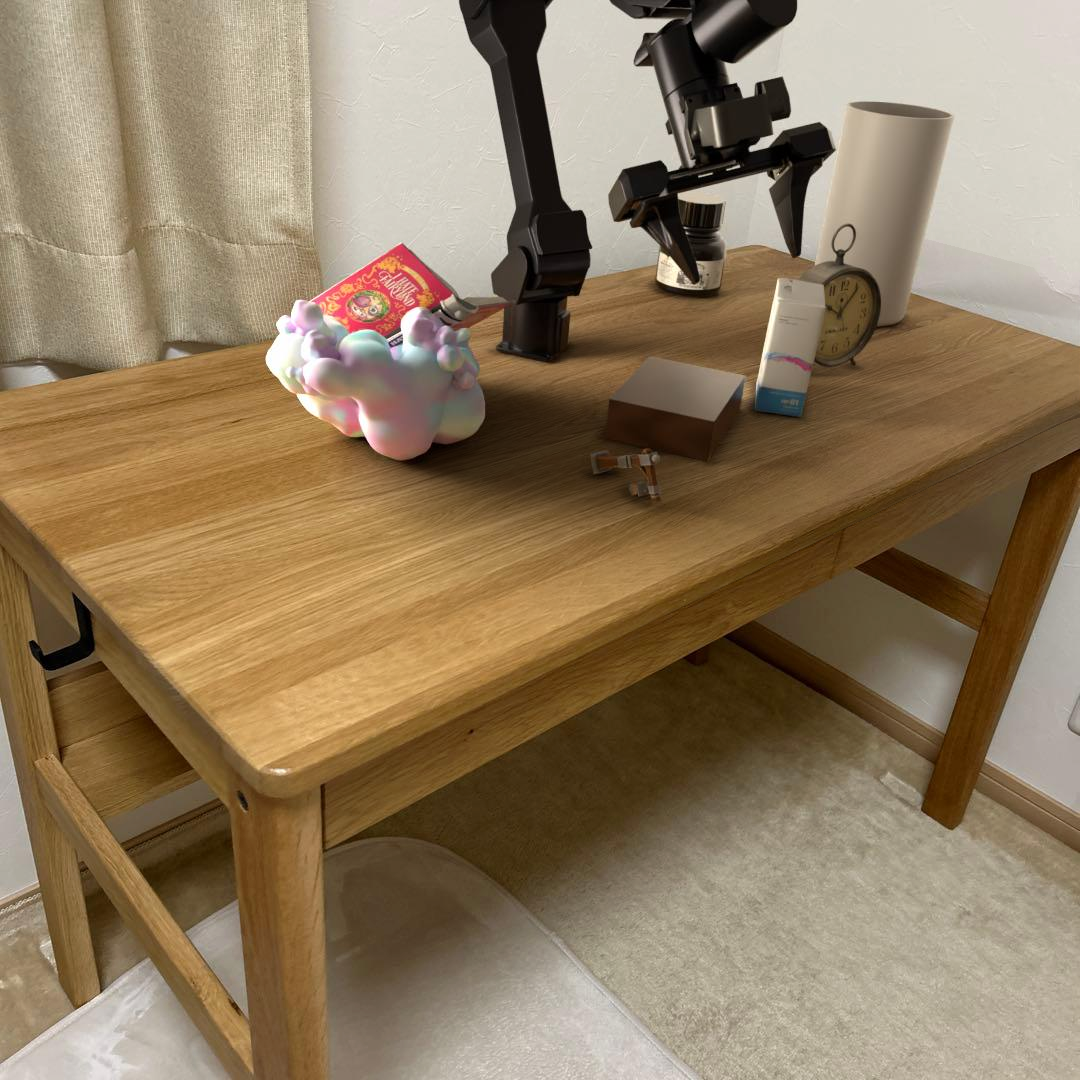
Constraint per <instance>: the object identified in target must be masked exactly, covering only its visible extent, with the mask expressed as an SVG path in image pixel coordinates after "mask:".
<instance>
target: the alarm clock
mask: <svg viewBox="0 0 1080 1080" xmlns="http://www.w3.org/2000/svg"><path fill="white" fill-rule="evenodd" d="M844 227H850V228H851V229H852V231H853V240H852V242H851V244H850V246H849V247H848V248H847V249H846V250H845V251H844V250H843V249H839V250H837V251H836V250H835V248H834V241H835V238H836V236H837V234H838V232H839V231H840V230H841V229H842V228H844ZM855 239H856V230H855V228H854V226H853V225H852V224H844V225H842V226H840V227H839V228H838V229H837V230H836V232H835V233H834V235H833V238H832V243H831V246H832V249H833V251H834V253H836V255H837V257H836V260H835V261H827V262H823V263H820V264H817V265H815V264H814V265H813V266H811V267H810V268H808V269H807V270H806V271H805V272H803V274H802V275H800V276H799V277H798V279H797V280H799V281H804V282H810V283H816V284H822V285H824V294H825V307H826V308H825V313H824V318H823V323H822V327H821V332H820V336H819V341H818V345H817V349H816V353H815V358H814V362H813V363H815V364H817V365H819V366H821V367H825V368H833V367H834V368H835V367H838V366H842V365H844V364H846V363H849V362H850V366H851V367H856V366H857V361H856V360H855V359H854V358H855V357H856V356H858V355H859V354H860V353H861V352H862V351H863V349H865V347H866V346H867V345H868V344H869V342H870V340H871V339H872V337H873V336H874V334H875V331H876V329H877V327H878V326H877V324H878V320H879V317H880V312H881V293H880V289H879V286H878V283H877V281H876V280H875V278H874V277H873V276H872V275H871V274H870V273H869V272H868V271H866V270H864V269H862V268H857V267H854V266H851V265H848V264H845V263H844V255H845V253H846V252H848V251H849V250H850V249H851V248H852V246H853V244H854V241H855Z"/></svg>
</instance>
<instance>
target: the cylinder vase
mask: <svg viewBox="0 0 1080 1080" xmlns="http://www.w3.org/2000/svg"><path fill="white" fill-rule="evenodd" d="M954 120H955V115H954V114H953V113H951V112H949V111H946V110H942V109H938V108H933V107H928V106H922V105H915V104H910V103H902V102H901V103H900V102H893V101H892V102H891V101H877V100H875V101H874V100H856V101H849V102H847V103H846V107H845V111H844V116H843V121H842V127H841V131H840V137H839V141H838V146H837V150H836V151H837V152H836V156H835V157H836V158H835V161H834V165H833V166H834V167H833V171H832V177H831V181H830V187H829V191H828V196H827V201H826V207H825V212H824V216H823V222H822V227H821V232H820V236H819V241H818V246H817V251H816V257H815V262H814V266H815V265H817V264H820V263H823V262H827V261H835V260H836V257H837V255H836V253H834V251H833V249H832V246H831V243H832V238H833V235H834V233H835V232H836V230H837V229H838V228H839V227H840V226H842V225H844V224H852V225H853V226H854V228H855V230H856V239H855V241H854V244H853V246H852V248H851V249H850V250H849V251H848V252H846V253H845V255H844V263H845V264H848V265H851V266H854V267H857V268H862V269H864V270H866V271H868V272H869V273H870V274H871V275H872V276H873V277H874V278H875V280H876V281H877V283H878V286H879V289H880V293H881V312H880V317H879V320H878V324H877V327H886V326H887V327H888V326H892V325H895V324H897V323H899V322H900V321H902V320H903V319H904V318H905V316H906V313H907V310H908V305H909V301H910V298H911V293H912V289H913V285H914V281H915V278H916V272H917V268H918V265H919V260H920V257H921V253H922V248H923V244H924V240H925V236H926V234H927V233H926V232H927V228H928V224H929V220H930V217H931V213H932V208H933V204H934V201H935V196H936V193H937V189H938V184H939V180H940V176H941V172H942V168H943V164H944V160H945V155H946V152H947V147H948V144H949V140H950V136H951V132H952V127H953V123H954ZM852 240H853V231H852V229H851V228H850V227H844V228H842V229H841V230H840V231H839V232H838V234H837V236H836V238H835V241H834V248H835V250H836V251H837V250H839V249H843V250H844V251H845V250H846V249H847V248H848V247H849V246H850V244H851V242H852Z"/></svg>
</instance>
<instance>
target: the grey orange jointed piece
mask: <svg viewBox="0 0 1080 1080" xmlns="http://www.w3.org/2000/svg"><path fill="white" fill-rule="evenodd" d="M641 453H642V454H638V453H635V454H630V455H629V454H628V455H627V454H624V455H621V456H616V455H610V453H609V450H606V449H605V450H601V451H598V452H594V453H590V454H589V456H590V463H591V468H592V473H593V475H597V474H602V473H605V472H609V471H612V468H616V467H618V469H622V468H626V469H630V468H631V469H632V468H635V467H638V468H639V469H640V471H641V472H642V474H643V476H644V477H645V478H646V479H647V481H643V482H638V481H637V482H634V483H632V484H629V488H628V489H629V492H630V496H635V495H638V497H641V496H645V495H646V496H647V495H650V499H651V503H659V502H661V501H662V497H661V496H662V495H661V487H660V483H659V482H658V476H657V472H656V471H657V470H656V466H655V465H657V464H660V461H661V456H660V455H659V454H658V451H655V452H652V449H651V448H647V447H645V448H643V449H642V450H641Z"/></svg>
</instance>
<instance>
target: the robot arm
mask: <svg viewBox="0 0 1080 1080" xmlns="http://www.w3.org/2000/svg"><path fill="white" fill-rule="evenodd" d="M553 2H554V0H458V5H459V10H460V12H461V14H462V15H461V16H462V18H463V22H464V26H465V29H466V32H467V33H466V34H467V36H468V39H469V42H470V43H471V45H472V46H473V47H474V49H475V50H476V51H477V52H478V54H480V56H481V57H482V59H483V60H484V61H485V62H486V64H487V65H488V67H489V69H490V73H491V79H492V85H493V89H494V95H495V101H496V106H497V113H498V117H499V123H500V127H501V133H502V139H503V144H504V149H505V153H506V154H505V155H506V160H507V166H508V171H509V176H510V181H511V187H512V192H513V197H514V204H515V210H514V213H513V216H512V218H511V222H510V225H509V227H508V229H507V233H506V247H507V254H506V256H505V257H504V258H503V259H502V260H501V261H500V262H499V264H498V265H497V266H496V267H495V268H494V270H493V271H492V272H491V274H490V279H491V286H492V293H493V294H494V295H495V296H496V297H503V298H504V299H505V300H506V301H515V303H513V304H511V305H509V306H508V307H506V308H504V309H503V318H502V319H503V320H502V321H503V323H502V340H501V342H499V343H498V344H497V345H495V351H497V352H499V353H504V354H510V355H515V356H519V357H523V358H529V359H533V360H538V361H543V362H550V361H552V360H553V359H554V358H555V357H557V356H558V355H560V353H562V352H563V351H564V350H565V349H566V348H567V347H569V345H570V344H569V343H570V342H569V336H570V323H571V314H572V313H571V311H570V310H569V309H567V307H568V298H569V297H579V296H580V295H581V291H582V288H583V286H584V283H585V280H586V278H587V274H588V271H589V269H590V267H591V250H593V245H592V242H591V240H590V237H589V234H588V233H589V232H588V222H587V217H586V214H585V212H584V211H583V210H582V209H575V210H573V209H572V208H571V207H570V205H569V204H568V203H567V202H566V201H565V199H564V197H563V194H562V193H563V192H562V187H561V183H560V178H559V177H560V176H559V172H558V165H557V161H556V154H555V149H554V144H553V138H552V133H551V127H550V121H549V116H548V110H547V106H546V105H547V104H546V98H545V94H544V89H543V88H544V87H543V82H542V76H541V70H540V66H539V60H538V53H539V50H540V47H541V44H542V42H543V39H544V36H545V33H546V30H547V27H548V25H547V13H546V10H547V9H548V8H549V6H550V5H551V4H552V3H553ZM609 2H610V4H611V5H613V6H614V7H615V8H617V9H618V10H620V11H621V12H623V13H624V14H625V15H627V16H628V17H630V18H632V19H635V20H670V21H668V22H667V23H666V24H664V25H663V26H662V27H661V28H660V29H659V30H658V31H657V32H644V33H643V35H642V40H641V43H640V45H639V47H638V49H637V50H636V51H635V54H634V58H633V65H634V66H635V68H636V67H637V68H639V67H640V68H643V67H644V68H646V67H647V68H648V67H653V69H654V72H655V76H656V77H655V78H656V79H657V80H656V81H657V83H658V86H659V87H658V88H659V90H660V94H661V98H662V100H663V104H664V108H665V111H666V115H667V120H666V122H665V123H664V125H665V129H666V132H667V135H668V136H670V135H672V136H673V140H674V143H675V147H676V150H677V153H678V157H679V160H680V163H681V165H680V166H679V167H678V169H673V170H670V171H669V170H668V167H667V165H666V164H665V163H664V162H663V161H662V160H661V159H659V160H654V161H651V162H647V163H643V164H638V165H634V166H630V167H626V168H622V170H621V171H620V173H619V175H618V177H617V178H616V180H615V181H614V184H613V185H612V187H611V189H610V191H609V193H608V195H607V197H608V198H607V199H608V207H609V209H610V213H611V217H612V220H613V222H614V223H621V222H625V221H629V220H630V221H629V225H630V228H631V229H637V228H641V229H642V230H644V231H645V232H646V233H647V234H648V235H649V236H650V237H651V238H652V239H653V240H654V241H655V243H656V244H658V245H659V246H661V247H662V248H663V249H664V250H665V251H666V252H667V253H668V254H669V256H670V257H671V258H672V259H673V261H674V262H675V263H676V264H677V266H678V267H679V268H680V269H681V270H682V272H683V273H684V274H685V275H686V277H687V278H688V279H689V280H690V281H691V283H692V284H697V283H698V282H699V281H700V276H699V272H698V267H697V263H696V260H695V257H694V254H693V251H692V249H691V246H690V243H689V240H688V237H687V234H686V232H685V229H684V226H683V223H682V221H681V217H680V210H679V201H678V193H682V192H691V191H693V190H694V191H695V190H698V189H702V188H706V187H710V186H714V185H718V184H722V183H727V182H730V181H735V180H738V179H743V178H747V177H751V176H755V175H759V174H762V173H766V175H767V177H769V178H770V179H772V180H773V181H775V183H773V184H772V185H771V186H770V187H769V188H768V193H769V195H770V198H771V202H772V204H773V207H774V211H775V214H776V218H777V220H778V223H779V226H780V227H779V228H780V230H781V233H782V237H783V239H784V242H785V245H786V247H787V250H788V251H789V254H790V256H791V258H792V259H797V258H799V257H800V256H801V255H802V247H803V230H804V214H805V202H806V197H807V191H808V186H809V183H810V180H811V178H812V177H813V176H814V175H815V174H816V173H817V172H818V171H819V170H820V169H821V168H822V167H823V165H824V162H825V161H826V160H828V158H830V157H831V156H832V155H833V154H834V153H835V152H836V151H837V148H836V144H835V141H834V137H833V133H832V131H831V130H830V129H829V128H828V127H827V126H825V125H824V124H823V123H821V121H817V122H813V123H808V124H804V125H800V126H797V127H792V128H788V129H783V130H782V131H781V132H780V133H779V134H778V135H777V137H776V138H775V139H774V140H773V141H772V143H770V144H769V145H768V147H765V148H761V149H760V148H759V149H757V150H752V151H750V148H751V147H753V146H756V145H757V144H758V143H759V142H760V141H761V139H763V138H766V137H770V136H773V135H774V127H773V126H774V125H773V122H777V121H781V120H786V119H789V118H790V117H791V113H792V106H791V98H790V92H789V90H788V88H787V84H786V82H785V79H784V76H778V77H774V78H769V79H765V80H760V81H757V82H755V83H754V90H753V91H754V92H753V93H754V95H750V96H747V97H746V96H745V97H744V96H743V93H742V90H741V88H740V86H739V84H738V82H733V83H731V79H730V77H729V73H728V69H727V66H726V65H727V64H734V65H735V64H737V63H741V62H742V61H744V60H745V59H746V58H748V57H749V56H750V55H751V54H753V53H754V52H755V51H756V50H758V49H760V47H761V46H763V45H764V44H765V43H767V42H768V41H769V40H771V39H772V38H773V37H774V36H775V35H777V34H778V33H779V32H781V31H783V30H784V29H785V28H786V27H787V26H789V25H790V24H791V23H792V22H793V21H794V19H795V18H796V16H797V12H798V0H609ZM726 63H727V64H726ZM738 166H739V167H738Z"/></svg>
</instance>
